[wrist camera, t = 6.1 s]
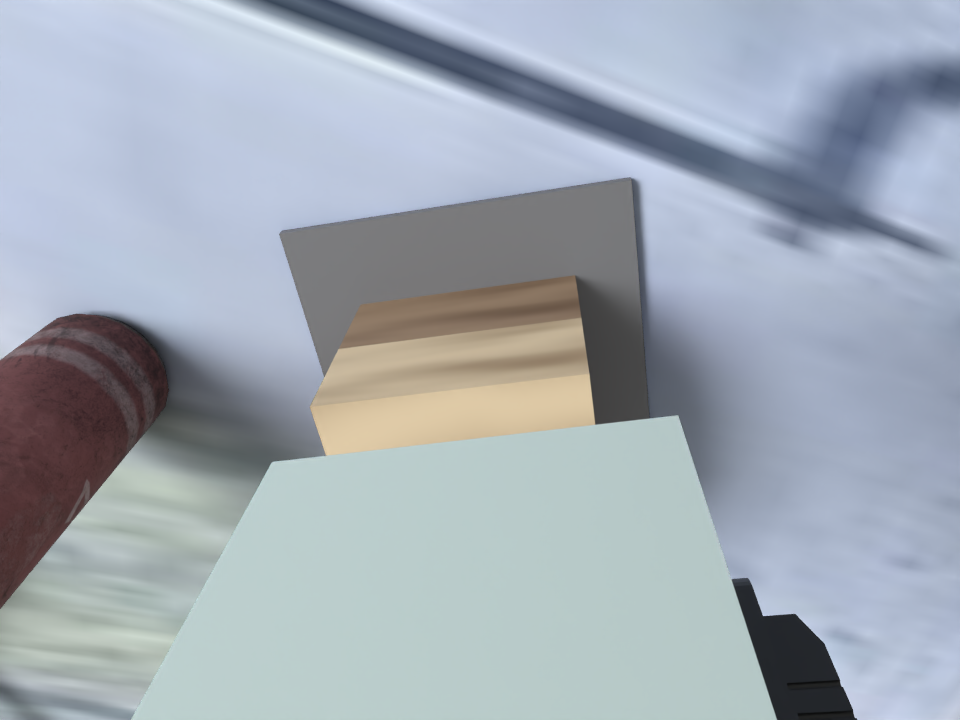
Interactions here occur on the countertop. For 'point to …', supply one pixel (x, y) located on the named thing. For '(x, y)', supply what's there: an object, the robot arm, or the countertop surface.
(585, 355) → the block top
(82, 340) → the can
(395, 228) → the mat
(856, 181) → the countertop surface
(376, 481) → the cube
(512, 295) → the block bottom
